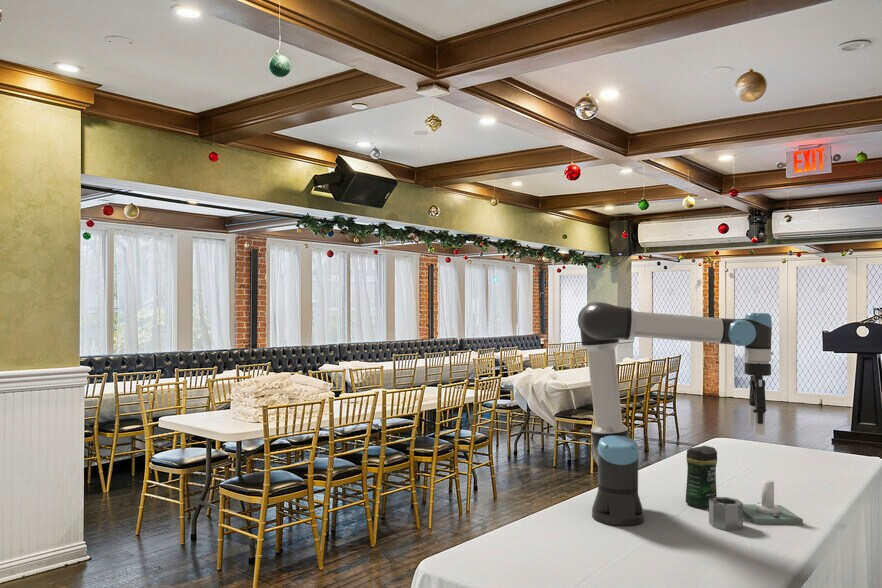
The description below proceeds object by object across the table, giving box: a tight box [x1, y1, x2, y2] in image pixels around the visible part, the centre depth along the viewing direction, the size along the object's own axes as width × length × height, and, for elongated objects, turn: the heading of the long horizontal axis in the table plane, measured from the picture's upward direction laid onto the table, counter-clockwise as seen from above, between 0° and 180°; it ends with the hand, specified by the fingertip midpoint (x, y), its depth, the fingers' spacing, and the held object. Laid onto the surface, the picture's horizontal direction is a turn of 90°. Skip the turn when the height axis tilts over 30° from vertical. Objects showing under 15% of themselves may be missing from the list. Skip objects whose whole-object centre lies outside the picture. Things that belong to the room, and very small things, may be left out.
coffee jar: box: [685, 445, 718, 509], centre depth 217 cm, size 10×8×19 cm
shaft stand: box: [743, 479, 804, 525], centre depth 206 cm, size 14×14×10 cm
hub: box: [708, 496, 744, 531], centre depth 197 cm, size 8×8×7 cm
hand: (756, 430), depth 212 cm, fingers open, 13 cm apart
